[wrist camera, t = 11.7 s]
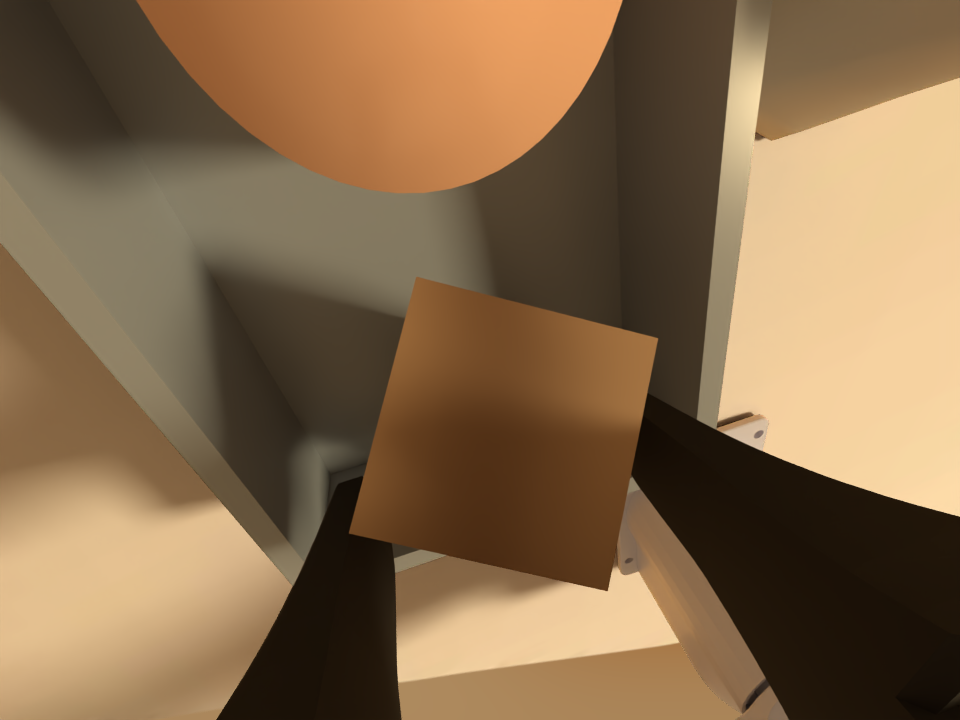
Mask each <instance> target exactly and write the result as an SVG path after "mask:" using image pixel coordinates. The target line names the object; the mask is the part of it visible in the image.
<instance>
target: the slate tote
mask: <svg viewBox="0 0 960 720" xmlns="http://www.w3.org/2000/svg"><path fill="white" fill-rule="evenodd" d="M772 2H773V0H623V1H622V3H621V6H620V9H619V12H618V15H617V18H616V21H615V24H614V27H613V30H612V32H611V35H610V37H609V39H608V42H607V44H606V46H605V48H604V50H603V52H602V55H601V57H600V59H599V61H598V63H597V66H596V67H595V69H594V71H593V72H592V74H591V76H590V77H589V79H588V81H587V83H586V84H585V86H584V88H583V89H582V91H581V93H580V94H579V96H578V97H577V98H576V100H575V101H574V102H573V104H572V105H571V106H570V108H569V109H568V110H567V112H566V113H565V114H564V116H563V117H562V118H561V119H560V120H559V122H558V123H557V124H556V125H555V126H554V127H553V128H552V129H551V130H550V131H549V132H548V133H547V134H546V135H545V136H544V138H543V139H541V140H540V141H539V142H538V143H537V144H535V145H534V146H533V147H532V148H531V149H529V150H528V151H527V152H526V153H525V154H523V155H522V156H521V157H519V158H518V159H516V160H515V161H513V162H511V163H510V164H508V165H507V166H505V167H504V168H502V169H500V170H499V171H497V172H495V173H492V174H490V175H488V176H486V177H484V178H481V179H479V180H477V181H475V182H472V183H468V184H465V185H462V186H458V187H455V188H452V189H447V190H440V191H434V192H427V193H390V192H382V191H374V190H368V189H364V188H360V187H356V186H352V185H348V184H345V183H341V182H338V181H335V180H333V179H330V178H328V177H325V176H323V175H320V174H318V173H315V172H313V171H310V170H309V169H307V168H305V167H303V166H301V165H299V164H297V163H296V162H294V161H292V160H290V159H288V158H286V157H285V156H283V155H281V154H279V153H278V152H276V151H275V150H274V149H272V148H271V147H269V146H268V145H266V144H265V143H264V142H262V141H261V140H259V139H258V138H256V137H255V136H253V135H252V134H251V133H249V132H248V131H247V130H246V129H245V128H243V127H242V126H241V125H240V124H239V123H238V122H237V121H235V120H234V119H233V118H232V117H231V116H230V115H228V114H227V113H226V112H225V111H224V110H223V109H222V108H220V107H219V106H218V105H217V104H216V103H215V102H214V100H213V99H212V98H211V97H210V96H209V95H208V94H207V93H206V92H205V91H204V90H203V89H202V88H201V87H200V86H199V85H198V84H197V83H196V81H195V80H194V79H193V78H192V77H191V76H190V75H189V74H188V73H187V71H186V70H185V69H184V67H183V66H182V65H181V64H180V62H179V61H178V60H177V59H176V57H175V56H174V55H173V53H172V52H171V51H170V50H169V48H168V47H167V46H166V44H165V43H164V42H163V41H162V39H161V38H160V37H159V35H158V34H157V32H156V30H155V29H154V27H153V26H152V24H151V23H150V21H149V20H148V18H147V16H146V15H145V13H144V12H143V10H142V9H141V7H140V5H139V4H138V2H137V1H136V0H0V243H1V244H2V245H3V247H4V248H5V249H6V250H7V251H8V252H9V254H10V255H11V256H12V257H13V258H14V260H15V261H16V262H17V263H18V264H19V265H20V267H21V268H22V269H23V270H24V271H25V272H26V274H27V275H28V276H29V277H30V278H31V279H32V281H33V282H34V283H35V284H36V285H37V287H38V288H39V289H40V290H41V291H42V292H43V294H44V295H45V296H46V297H47V298H48V299H49V301H50V302H51V303H52V304H53V305H54V306H55V308H56V309H57V310H58V311H59V312H60V314H61V315H62V316H63V317H64V318H65V319H66V321H67V322H68V323H69V324H70V325H71V326H72V328H73V329H74V330H75V331H76V332H77V333H78V335H79V336H80V337H81V338H82V339H83V341H84V342H85V343H86V344H87V345H88V346H89V348H90V349H91V350H92V351H93V352H94V353H95V355H96V356H97V357H98V358H99V359H100V360H101V362H102V363H103V364H104V365H105V366H106V368H107V369H108V370H109V371H110V372H111V373H112V375H113V376H114V377H115V378H116V379H117V380H118V382H119V383H120V384H121V385H122V386H123V387H124V389H125V390H126V391H127V392H128V393H129V394H130V396H131V397H132V398H133V399H134V400H135V402H136V403H137V404H138V405H139V406H140V407H141V409H142V410H143V411H144V412H145V413H146V414H147V416H148V417H149V418H150V419H151V420H152V421H153V423H154V424H155V425H156V426H157V427H158V429H159V430H160V431H161V432H162V433H163V434H164V436H165V437H166V438H167V439H168V440H169V441H170V443H171V444H172V445H173V446H174V447H175V448H176V450H177V451H178V452H179V453H180V454H181V456H182V457H183V458H184V459H185V460H186V461H187V463H188V464H189V465H190V466H191V467H192V468H193V470H194V471H195V472H196V473H197V474H198V475H199V477H200V478H201V479H202V480H203V481H204V483H205V484H206V485H207V486H208V487H209V488H210V490H211V491H212V492H213V493H214V494H215V495H216V497H217V498H218V499H219V500H220V501H221V502H222V504H223V505H224V506H225V507H226V508H227V509H228V511H229V512H230V513H231V514H232V515H233V517H234V518H235V519H236V520H237V521H238V522H239V524H240V525H241V526H242V527H243V528H244V529H245V531H246V532H247V533H248V534H249V535H250V536H251V538H252V539H253V540H254V541H255V542H256V544H257V545H258V546H259V547H260V548H261V549H262V551H263V552H264V553H265V554H266V555H267V556H268V558H269V559H270V560H271V561H272V562H273V563H274V565H275V566H276V567H277V568H278V569H279V571H280V572H281V573H282V574H283V575H284V576H285V578H286V579H287V580H288V581H289V582H290V583H291V585H292V586H293V585H294V583H295V581H296V579H297V577H298V575H299V573H300V571H301V568H302V566H303V564H304V562H305V560H306V557H307V555H308V553H309V551H310V548H311V546H312V544H313V542H314V539H315V537H316V535H317V532H318V530H319V528H320V525H321V523H322V520H323V518H324V515H325V513H326V510H327V508H328V505H329V503H330V500H331V498H332V495H333V493H334V490H335V488H336V486H337V485H338V483H341V482H344V481H347V480H351V479H354V478H357V477H360V476H363V477H364V474H365V470H366V466H367V462H368V458H369V455H370V451H371V447H372V443H373V439H374V436H375V432H376V428H377V424H378V420H379V417H380V413H381V409H382V405H383V401H384V397H385V394H386V390H387V386H388V382H389V378H390V375H391V371H392V367H393V363H394V359H395V356H396V352H397V348H398V344H399V340H400V337H401V333H402V329H403V325H404V321H405V317H406V314H407V310H408V306H409V302H410V298H411V295H412V291H413V287H414V283H415V279H416V277H420V278H424V279H428V280H431V281H435V282H439V283H443V284H447V285H451V286H455V287H459V288H463V289H467V290H471V291H475V292H479V293H482V294H486V295H490V296H494V297H498V298H502V299H506V300H510V301H514V302H518V303H522V304H526V305H530V306H533V307H537V308H541V309H545V310H549V311H553V312H557V313H561V314H565V315H569V316H573V317H577V318H581V319H585V320H588V321H592V322H596V323H600V324H604V325H608V326H612V327H616V328H620V329H624V330H628V331H632V332H636V333H639V334H643V335H647V336H651V337H655V338H658V342H657V347H656V352H655V357H654V362H653V367H652V372H651V377H650V382H649V387H648V392H647V393H649V394H651V395H652V396H654V397H656V398H658V399H660V400H662V401H663V402H665V403H667V404H669V405H671V406H672V407H674V408H676V409H678V410H680V411H682V412H683V413H685V414H687V415H689V416H691V417H693V418H695V419H697V420H699V421H700V422H702V423H704V424H706V425H708V426H710V427H712V428H714V429H716V428H717V421H718V413H719V405H720V398H721V390H722V383H723V375H724V367H725V360H726V352H727V345H728V337H729V329H730V322H731V314H732V306H733V299H734V291H735V284H736V276H737V268H738V261H739V253H740V246H741V238H742V230H743V223H744V215H745V207H746V200H747V192H748V185H749V177H750V169H751V162H752V154H753V146H754V139H755V131H756V124H757V116H758V108H759V101H760V93H761V86H762V78H763V70H764V63H765V55H766V47H767V40H768V32H769V25H770V17H771V9H772ZM637 490H640V488H639V486H638V485H637V484H636V482H635V480H634V479H633V477H632V475H631V477H630V482H629V487H628V492H627V494H628V493H631V492H634V491H637ZM392 547H393V555H394V563H395V573H398V572H400V571H403V570H406V569H409V568H412V567H415V566H418V565H421V564H424V563H427V562H430V561H433V560H435V559H438V558H441V557H444V556H447V555H443V554H439V553H434V552H430V551H425V550H421V549H416V548H412V547H407V546H403V545H398V544H394V543H392Z"/></svg>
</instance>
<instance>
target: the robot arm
mask: <svg viewBox="0 0 960 720" xmlns="http://www.w3.org/2000/svg"><path fill="white" fill-rule="evenodd" d="M768 425H769V420H768V419H767V418H766V417H764V416H763V415H760V414H759V415H754V416H751V417H748V418H745V419H742V420H739V421H736V422H733V423H730V424H727V425H724V426H721V427H718V428H716V429H714V428H712V427H710V426H708V425H706V424H704V423H702V422H700V421H699V420H697V419H695V418H693V417H691V416H689V415H687V414H685V413H683V412H682V411H680V410H678V409H676V408H674V407H672V406H671V405H669V404H667V403H665V402H663V401H662V400H660V399H658V398H656V397H654V396H652V395H651V394H649V393H647V397H646V402H645V407H644V412H643V417H642V422H641V427H640V432H639V437H638V442H637V447H636V452H635V457H634V462H633V467H632V472H631V475H632V477H633V479H634V480H635V482H636V484H637V485H638V486H639V488H640V490H637V491H634V492H631V493H628V494H627V497H626V502H625V507H624V512H623V517H622V522H621V527H620V532H619V537H618V542H617V554H618V568H619V570H620V572H621V574H623V575H629V574H632V573H635V572H637V571H639V573H640V575H641V576H642V578H643V580H644V582H645V583H646V585H647V587H648V589H649V590H650V592H651V594H652V595H653V597H654V599H655V601H656V602H657V604H658V606H659V608H660V609H661V611H662V613H663V614H664V616H665V618H666V620H667V621H668V623H669V625H670V626H671V628H672V630H673V632H674V633H675V635H676V637H677V639H678V640H679V642H680V644H681V645H682V647H683V649H684V651H685V652H686V654H687V656H688V658H689V659H690V661H691V663H692V664H693V666H694V668H695V669H696V671H697V672H698V674H699V675H700V677H701V678H702V680H703V681H704V682H705V684H706V685H707V686H708V687H709V688H710V689H711V690H712V692H714V693H715V694H716V695H717V696H718V697H719V698H720V699H721V700H722V701H724V702H725V703H726V704H728V705H729V706H731V707H732V708H733V709H735V710H736V711H738V712H740V713H742V715H741V716H740V717H738V718H737V719H736V720H960V517H959V516H955V515H951V514H947V513H944V512H940V511H936V510H932V509H929V508H925V507H921V506H917V505H914V504H911V503H907V502H904V501H900V500H897V499H893V498H890V497H887V496H883V495H880V494H877V493H874V492H871V491H868V490H865V489H862V488H859V487H856V486H853V485H849V484H846V483H843V482H840V481H838V480H835V479H832V478H829V477H826V476H823V475H821V474H818V473H815V472H813V471H810V470H808V469H805V468H802V467H800V466H797V465H795V464H792V463H789V462H787V461H784V460H782V459H780V458H777V457H775V456H772V455H770V454H768V453H765V452H763V447H764V443H765V438H766V434H767V429H768ZM362 481H363V476H360V477H357V478H354V479H351V480H347V481H344V482H341V483H338V485H337V486H336V488H335V490H334V493H333V495H332V498H331V500H330V503H329V505H328V508H327V510H326V513H325V515H324V518H323V520H322V523H321V525H320V528H319V530H318V532H317V535H316V537H315V539H314V542H313V544H312V546H311V548H310V551H309V553H308V555H307V557H306V560H305V562H304V564H303V566H302V568H301V571H300V573H299V575H298V577H297V579H296V581H295V583H294V585H293V587H292V589H291V591H290V593H289V595H288V597H287V599H286V601H285V603H284V605H283V607H282V609H281V611H280V613H279V615H278V617H277V619H276V621H275V623H274V624H273V626H272V628H271V630H270V632H269V634H268V636H267V637H266V639H265V641H264V643H263V644H262V646H261V648H260V650H259V651H258V653H257V655H256V657H255V658H254V660H253V662H252V663H251V665H250V667H249V669H248V670H247V672H246V673H245V675H244V677H243V678H242V680H241V682H240V683H239V685H238V686H237V688H236V689H235V691H234V693H233V694H232V696H231V697H230V699H229V701H228V702H227V704H226V705H225V707H224V709H223V710H222V712H221V713H220V715H219V716H218V718H217V719H216V720H401V711H400V701H399V692H398V677H397V648H396V591H395V563H394V555H393V547H392V543H390V542H385V541H381V540H376V539H372V538H367V537H363V536H358V535H354V534H349V531H350V527H351V523H352V519H353V516H354V512H355V508H356V504H357V500H358V497H359V493H360V489H361V485H362Z"/></svg>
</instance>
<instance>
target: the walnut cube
mask: <svg viewBox="0 0 960 720" xmlns="http://www.w3.org/2000/svg"><path fill="white" fill-rule="evenodd" d="M657 342H658V338H655V337H651V336H647V335H643V334H639V333H636V332H632V331H628V330H624V329H620V328H616V327H612V326H608V325H604V324H600V323H596V322H592V321H588V320H585V319H581V318H577V317H573V316H569V315H565V314H561V313H557V312H553V311H549V310H545V309H541V308H537V307H533V306H530V305H526V304H522V303H518V302H514V301H510V300H506V299H502V298H498V297H494V296H490V295H486V294H482V293H479V292H475V291H471V290H467V289H463V288H459V287H455V286H451V285H447V284H443V283H439V282H435V281H431V280H428V279H424V278H420V277H416V279H415V283H414V287H413V291H412V295H411V298H410V302H409V306H408V310H407V314H406V317H405V321H404V325H403V329H402V333H401V337H400V340H399V344H398V348H397V352H396V356H395V359H394V363H393V367H392V371H391V375H390V378H389V382H388V386H387V390H386V394H385V397H384V401H383V405H382V409H381V413H380V417H379V420H378V424H377V428H376V432H375V436H374V439H373V443H372V447H371V451H370V455H369V458H368V462H367V466H366V470H365V474H364V477H363V481H362V485H361V489H360V493H359V497H358V500H357V504H356V508H355V512H354V516H353V519H352V523H351V527H350V531H349V534H354V535H358V536H363V537H367V538H372V539H376V540H381V541H385V542H390V543H394V544H398V545H403V546H407V547H412V548H416V549H421V550H425V551H430V552H434V553H439V554H443V555H448V556H452V557H457V558H461V559H466V560H470V561H475V562H479V563H484V564H488V565H493V566H497V567H502V568H506V569H510V570H515V571H519V572H524V573H528V574H533V575H537V576H542V577H546V578H551V579H555V580H560V581H564V582H569V583H573V584H578V585H582V586H587V587H591V588H596V589H600V590H605V591H608V587H609V582H610V577H611V572H612V567H613V562H614V557H615V552H616V547H617V542H618V537H619V532H620V527H621V522H622V517H623V512H624V507H625V502H626V497H627V492H628V487H629V482H630V477H631V472H632V467H633V462H634V457H635V452H636V447H637V442H638V437H639V432H640V427H641V422H642V417H643V412H644V407H645V402H646V397H647V392H648V387H649V382H650V377H651V372H652V367H653V362H654V357H655V352H656V347H657Z"/></svg>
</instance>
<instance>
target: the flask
mask: <svg viewBox="0 0 960 720" xmlns="http://www.w3.org/2000/svg"><path fill="white" fill-rule="evenodd" d="M957 78H960V0H773V2H772V9H771V17H770V25H769V32H768V40H767V47H766V55H765V63H764V70H763V78H762V86H761V93H760V101H759V108H758V116H757V124H756V131H755V132H757V133H759V134H760V135H762V136H764V137H765V138H767V139H769V140H771V141H772V140H776V139H779V138H782V137H785V136H788V135H791V134H794V133H797V132H801V131H803V130H806V129H809V128H812V127H815V126H818V125H821V124H824V123H827V122H829V121H832V120H835V119H838V118H841V117H844V116H847V115H850V114H852V113H855V112H858V111H861V110H864V109H867V108H870V107H873V106H876V105H878V104H881V103H884V102H887V101H890V100H893V99H895V98H898V97H901V96H904V95H907V94H910V93H913V92H916V91H919V90H922V89H926V88H929V87H932V86H935V85H938V84H941V83H944V82H947V81H951V80H954V79H957Z"/></svg>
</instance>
